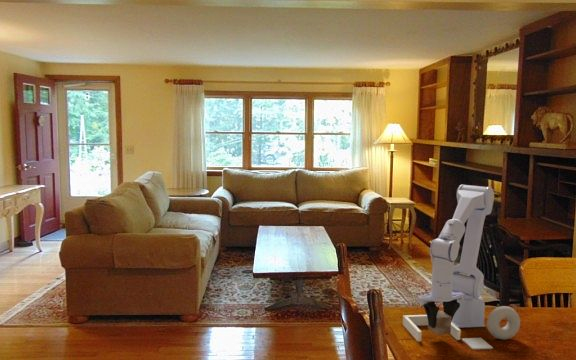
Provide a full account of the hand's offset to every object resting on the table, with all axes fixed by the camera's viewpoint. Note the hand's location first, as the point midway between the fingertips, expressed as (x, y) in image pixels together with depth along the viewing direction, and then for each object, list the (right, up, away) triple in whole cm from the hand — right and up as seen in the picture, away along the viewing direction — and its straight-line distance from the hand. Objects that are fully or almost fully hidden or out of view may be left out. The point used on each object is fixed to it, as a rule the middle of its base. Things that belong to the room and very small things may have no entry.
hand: (439, 325), depth 130 cm
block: (0, -2, 0) cm, 2 cm away
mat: (+10, -5, -1) cm, 11 cm away
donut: (+19, -5, +2) cm, 20 cm away
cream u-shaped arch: (-1, -4, +6) cm, 7 cm away
